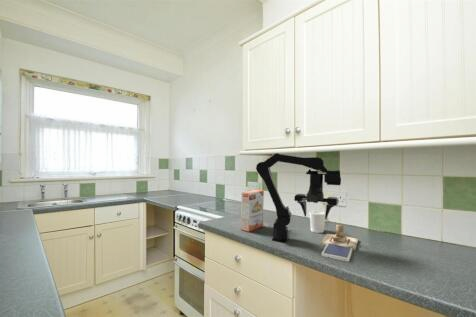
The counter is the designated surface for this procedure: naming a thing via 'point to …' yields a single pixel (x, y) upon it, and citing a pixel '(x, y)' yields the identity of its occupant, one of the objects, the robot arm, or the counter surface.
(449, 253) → the counter surface
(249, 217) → the cracker box
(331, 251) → the ink pad
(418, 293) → the counter surface
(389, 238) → the counter surface
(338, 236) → the stamp
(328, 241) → the board
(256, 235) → the counter surface
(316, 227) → the white cup
